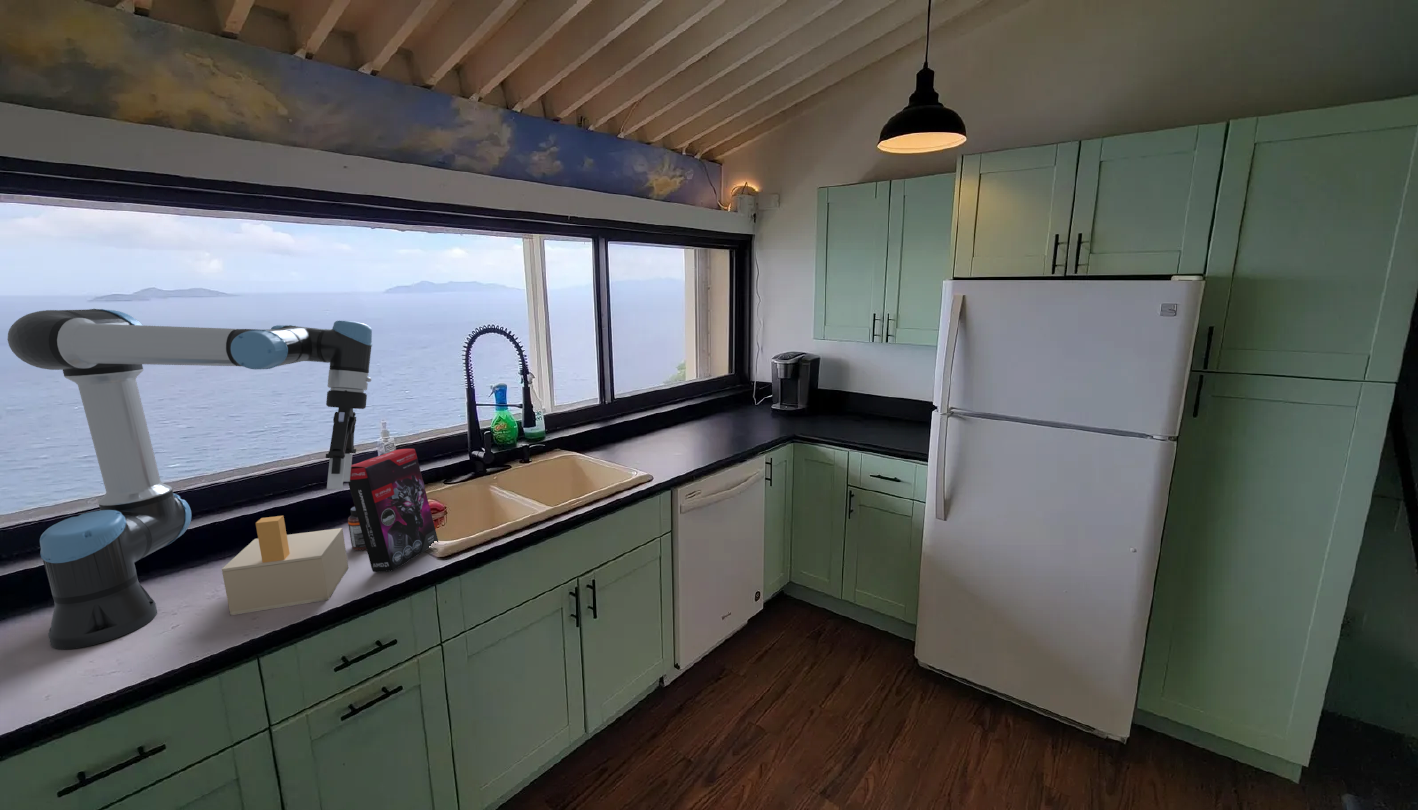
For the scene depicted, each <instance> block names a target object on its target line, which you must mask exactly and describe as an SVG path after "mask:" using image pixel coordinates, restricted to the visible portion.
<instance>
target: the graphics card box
mask: <svg viewBox="0 0 1418 810" xmlns="http://www.w3.org/2000/svg"><path fill="white" fill-rule="evenodd" d="M422 476H423V475H422V472H421V468H420V463H419V459H418V456H417V452H416V449H415V448H401V449H394V450H392V451H390V452H387V453H384V454H381V455H378V456H374V457H371V458H368V459H366V460H363V461H360V462H357V463H354V464H351V475H350V482H347V484H348V488H349V491H350V495H351V498H352V502H353V505H354V507H355V509H356V513H357V516H358V520H359V524H360V527H361V531H362V535H363V538H364V542H365V546H366V552H367V555H368V560H369V564H370V568H371V570H372V572H373V573H379V572H380V573H382V572H383V573H384V572H385V573H387V572H394V571H395V570H397V569H398V568H400V567H402V566H403V565H405V564H407V563H408V562H409V561H411V560H412V559H414V558H416V557H418V556H419V555H420V554H423V553H425V552H426V551H428V550H429V549H430V548H429V546H431V544H432V543H434V541H437V542H438V543H439V539H438V538H439V537H438V534H437V531H436V528H435V522H434V519H433V514H432V511H431V507H430V503H429V499H428V496H427V492H426V488H425V483H424V480H423V477H422Z"/></svg>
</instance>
